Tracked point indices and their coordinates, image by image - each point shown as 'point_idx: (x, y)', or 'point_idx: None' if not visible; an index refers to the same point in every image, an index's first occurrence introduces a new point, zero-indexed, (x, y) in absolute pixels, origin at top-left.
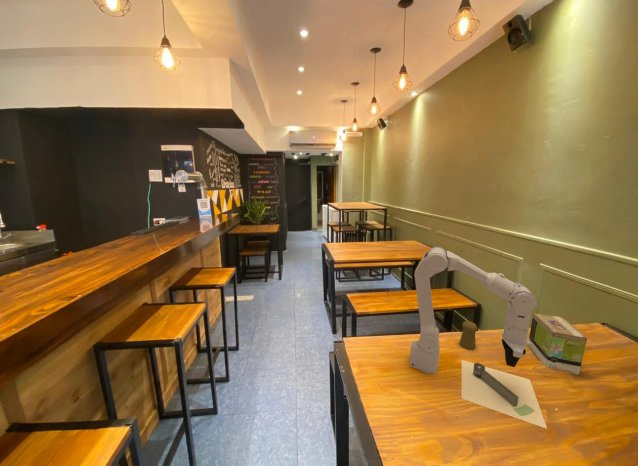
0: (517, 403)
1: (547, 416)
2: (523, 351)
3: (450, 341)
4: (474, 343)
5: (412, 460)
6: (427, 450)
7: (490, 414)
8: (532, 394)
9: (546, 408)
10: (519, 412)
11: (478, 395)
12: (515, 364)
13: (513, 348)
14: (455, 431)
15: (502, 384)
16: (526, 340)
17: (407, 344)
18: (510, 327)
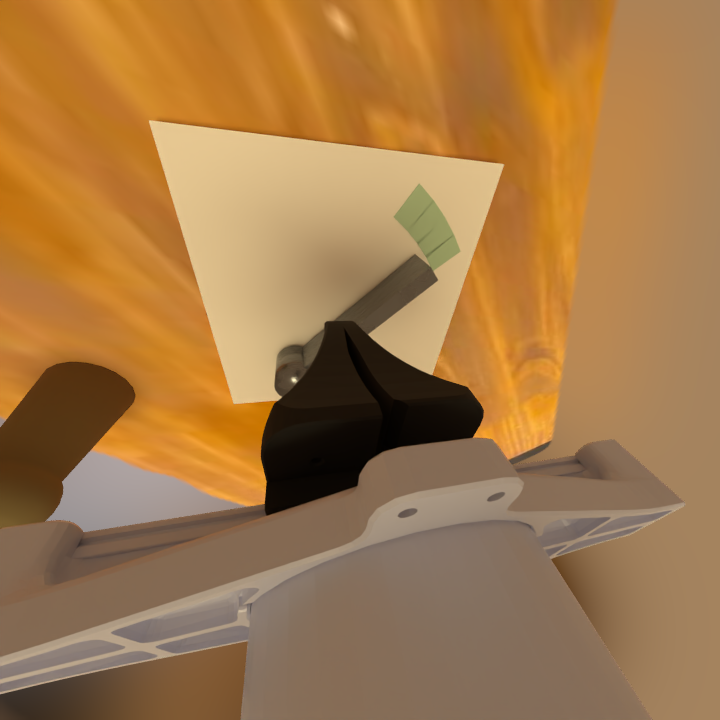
0: (418, 257)
1: (413, 118)
2: (471, 417)
3: (105, 435)
4: (66, 400)
5: (554, 418)
6: (541, 408)
7: (451, 325)
8: (305, 155)
9: (359, 97)
10: (444, 252)
11: (402, 357)
12: (361, 331)
13: (599, 542)
14: (507, 383)
15: (370, 315)
16: (531, 588)
17: (252, 493)
18: None
